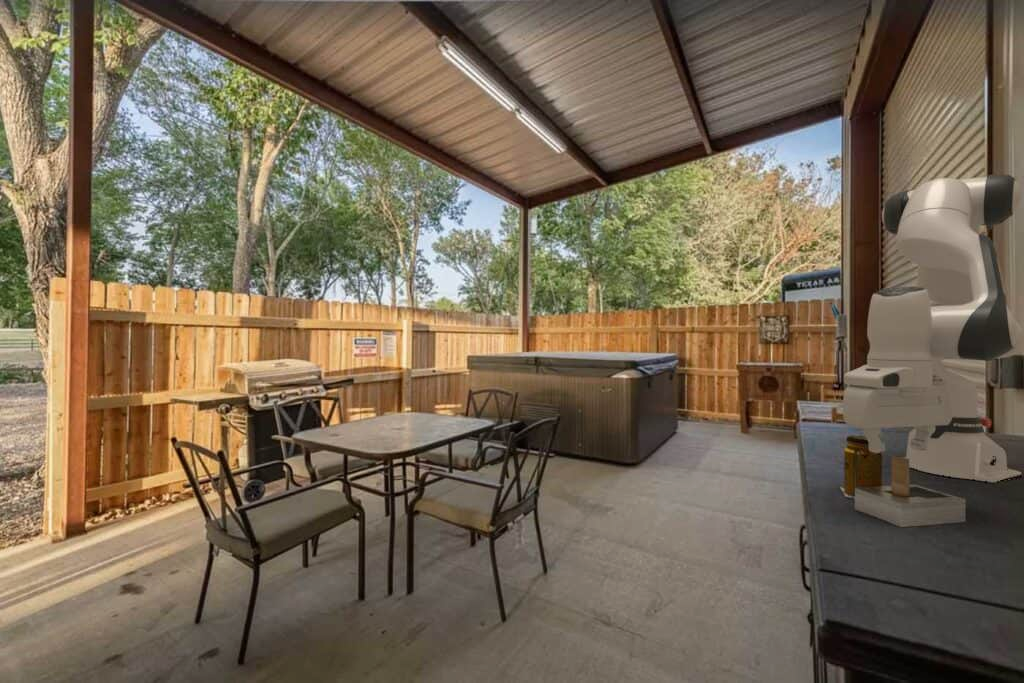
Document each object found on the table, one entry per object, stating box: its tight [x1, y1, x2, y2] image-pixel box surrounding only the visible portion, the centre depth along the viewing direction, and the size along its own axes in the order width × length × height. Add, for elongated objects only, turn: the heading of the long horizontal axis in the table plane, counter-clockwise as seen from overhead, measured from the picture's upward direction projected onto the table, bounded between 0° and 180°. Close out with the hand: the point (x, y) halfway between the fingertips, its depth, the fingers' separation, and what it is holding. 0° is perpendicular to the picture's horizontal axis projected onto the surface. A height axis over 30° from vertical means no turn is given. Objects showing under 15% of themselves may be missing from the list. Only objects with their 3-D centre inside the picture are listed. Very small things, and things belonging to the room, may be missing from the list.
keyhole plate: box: [854, 483, 966, 528], centre depth 77 cm, size 14×8×4 cm, turn 101°
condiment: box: [839, 435, 883, 499], centre depth 87 cm, size 7×8×12 cm
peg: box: [890, 455, 910, 498], centre depth 77 cm, size 4×4×10 cm
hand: (898, 450), depth 77 cm, fingers open, 8 cm apart
